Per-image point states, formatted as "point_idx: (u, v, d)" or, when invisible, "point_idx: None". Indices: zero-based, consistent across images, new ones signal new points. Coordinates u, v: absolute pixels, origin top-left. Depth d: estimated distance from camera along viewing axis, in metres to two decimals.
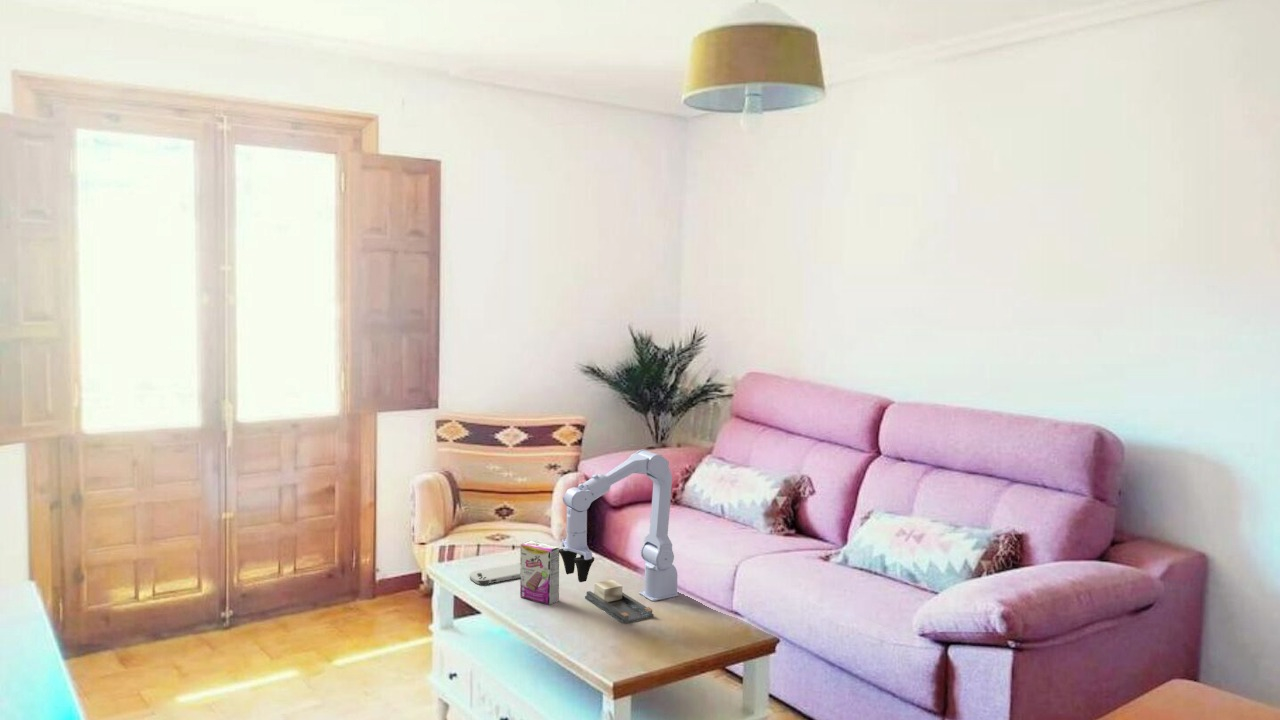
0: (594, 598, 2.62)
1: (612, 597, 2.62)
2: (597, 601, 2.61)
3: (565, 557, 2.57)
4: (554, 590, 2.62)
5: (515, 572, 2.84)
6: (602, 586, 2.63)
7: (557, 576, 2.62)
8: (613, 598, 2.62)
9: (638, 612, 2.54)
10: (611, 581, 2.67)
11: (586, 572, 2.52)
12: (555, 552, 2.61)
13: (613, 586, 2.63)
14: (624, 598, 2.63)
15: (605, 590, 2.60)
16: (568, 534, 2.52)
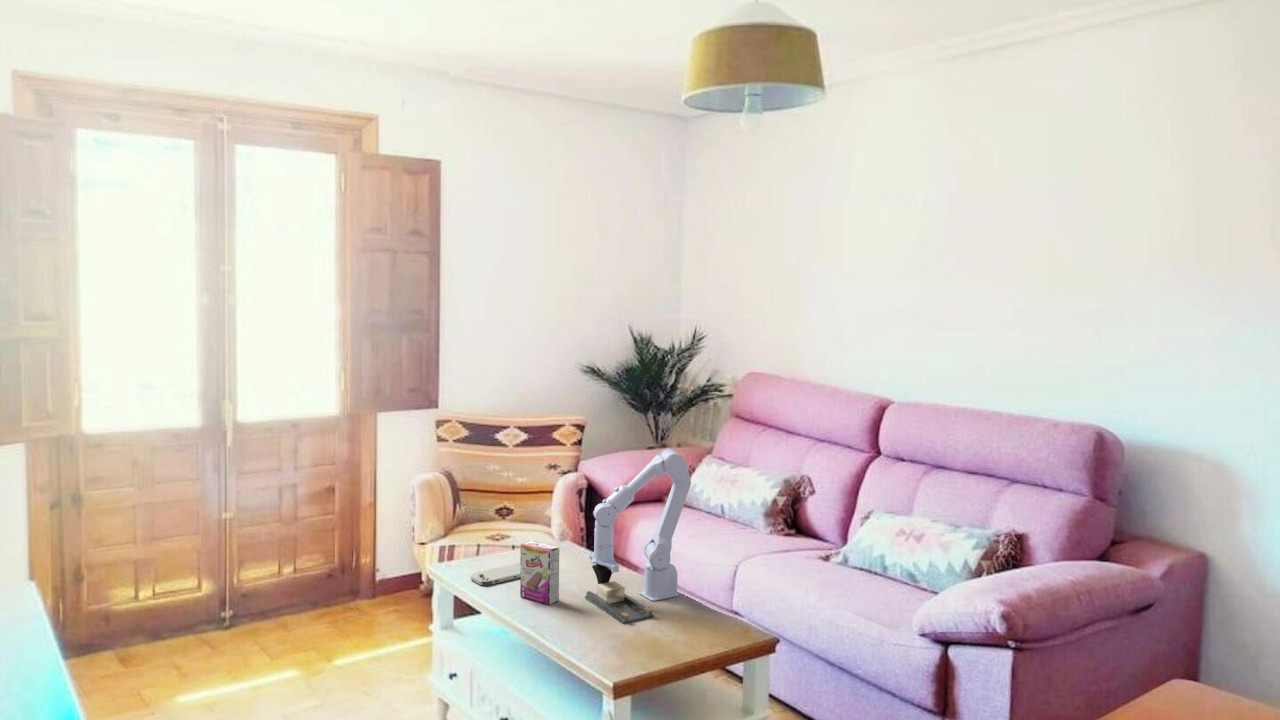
0: (594, 598, 2.62)
1: (614, 598, 2.61)
2: (597, 601, 2.61)
3: None
4: (554, 590, 2.62)
5: (516, 572, 2.84)
6: (604, 587, 2.62)
7: (557, 576, 2.62)
8: (615, 599, 2.61)
9: (638, 612, 2.54)
10: (613, 582, 2.66)
11: (607, 580, 2.66)
12: (555, 552, 2.61)
13: (616, 587, 2.62)
14: (624, 598, 2.63)
15: (607, 591, 2.59)
16: (596, 548, 2.64)
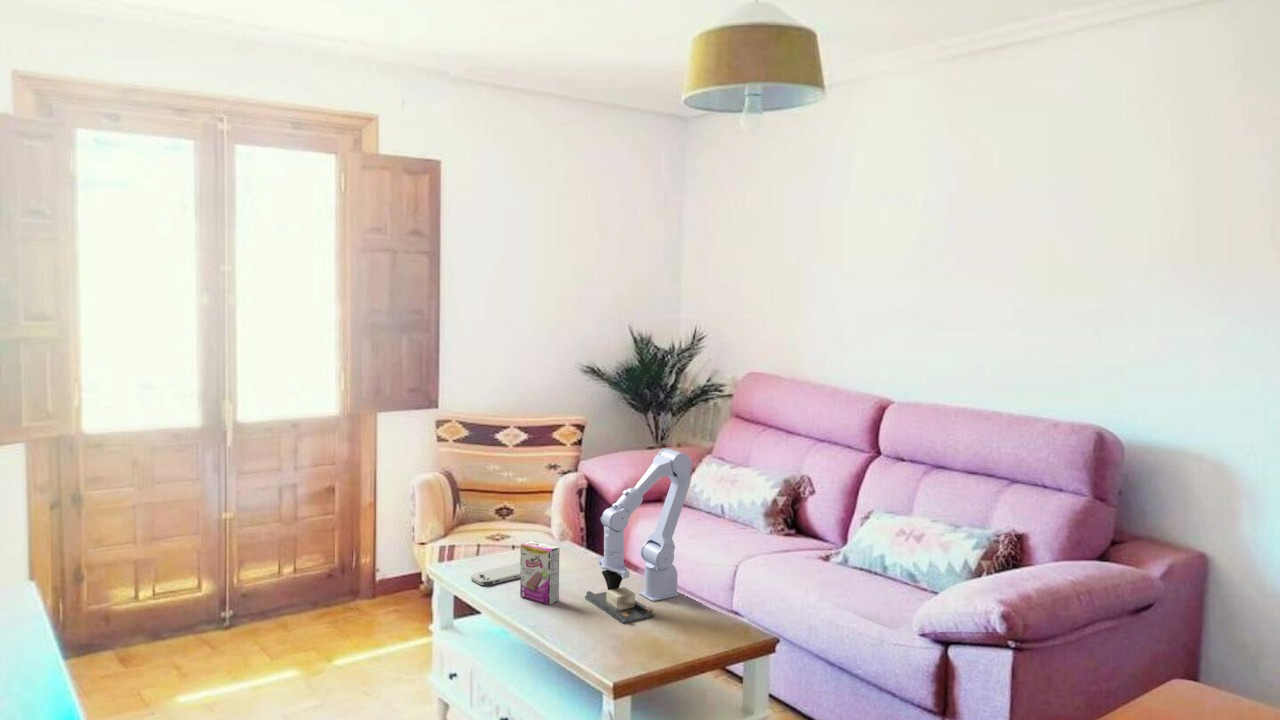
0: (594, 598, 2.62)
1: (625, 604, 2.56)
2: (597, 601, 2.61)
3: None
4: (554, 590, 2.62)
5: (516, 572, 2.84)
6: (615, 593, 2.57)
7: (557, 576, 2.62)
8: (626, 606, 2.56)
9: (638, 612, 2.54)
10: (623, 588, 2.61)
11: (617, 586, 2.62)
12: (555, 552, 2.61)
13: (626, 594, 2.57)
14: None
15: (617, 598, 2.54)
16: (606, 553, 2.59)
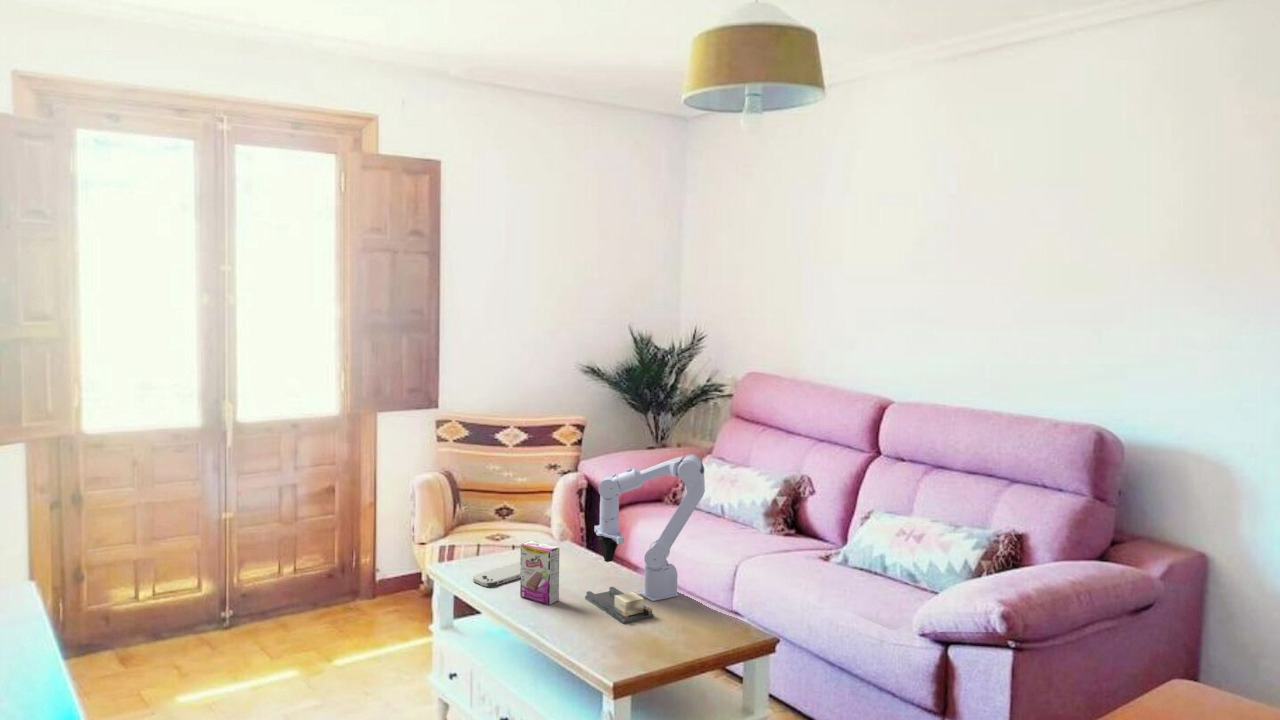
0: (594, 598, 2.62)
1: (633, 610, 2.52)
2: (597, 601, 2.61)
3: None
4: (554, 590, 2.62)
5: (518, 572, 2.84)
6: (623, 598, 2.53)
7: (557, 576, 2.62)
8: (634, 611, 2.52)
9: None
10: (632, 593, 2.57)
11: (612, 553, 2.71)
12: (555, 552, 2.61)
13: (635, 599, 2.53)
14: None
15: (626, 603, 2.50)
16: (601, 520, 2.69)
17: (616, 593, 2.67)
